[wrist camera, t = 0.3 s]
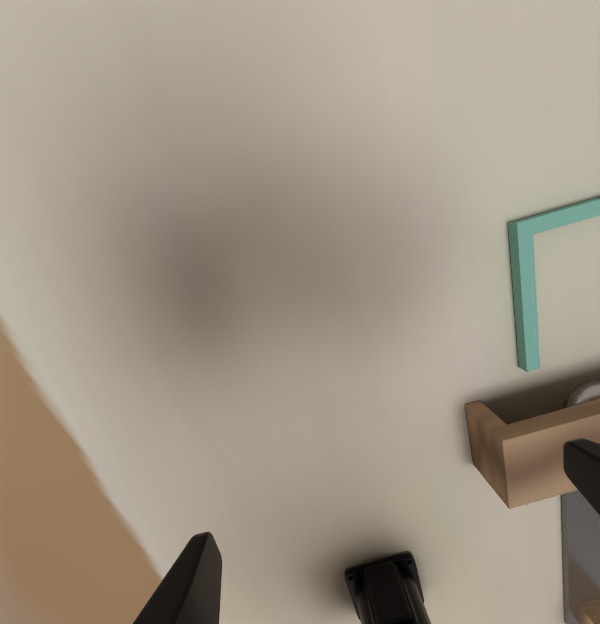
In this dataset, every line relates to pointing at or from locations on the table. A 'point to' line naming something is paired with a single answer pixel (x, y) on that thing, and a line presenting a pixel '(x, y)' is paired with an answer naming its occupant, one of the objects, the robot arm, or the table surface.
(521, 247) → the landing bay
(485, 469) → the walnut plinth
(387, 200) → the table surface
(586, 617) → the try square
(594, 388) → the steel puck
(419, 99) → the table surface
